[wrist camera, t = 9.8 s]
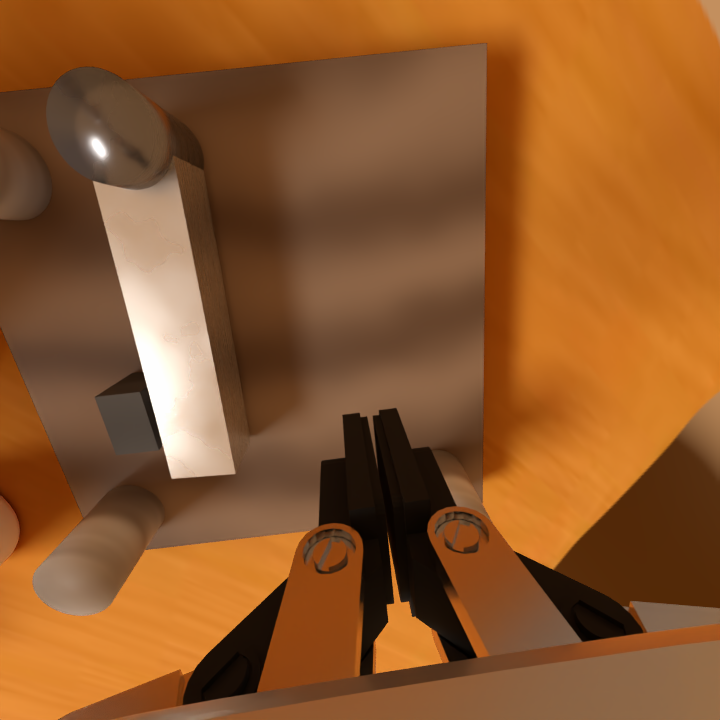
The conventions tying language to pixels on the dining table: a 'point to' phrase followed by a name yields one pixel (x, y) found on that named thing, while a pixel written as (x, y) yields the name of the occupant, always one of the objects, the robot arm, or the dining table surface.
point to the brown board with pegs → (261, 297)
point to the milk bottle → (7, 530)
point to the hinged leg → (160, 261)
